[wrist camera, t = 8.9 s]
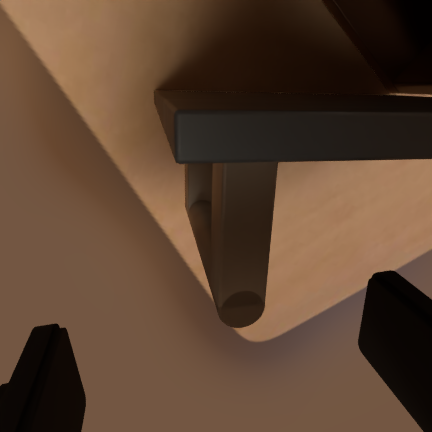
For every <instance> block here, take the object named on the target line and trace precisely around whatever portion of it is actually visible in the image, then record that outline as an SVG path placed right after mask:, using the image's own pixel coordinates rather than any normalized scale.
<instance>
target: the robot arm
mask: <svg viewBox="0 0 432 432" xmlns="http://www.w3.org/2000/svg"><path fill="white" fill-rule="evenodd" d="M358 345H359V349H360V351H361V352H362V354H363V355H364V356H365V358H366V359H367V360H368V362H369V363H370V364H371V365H372V367H373V368H374V369H375V370H376V372H377V373H378V374H379V376H380V377H381V378H382V379H383V381H384V382H385V383H386V384H387V386H388V387H389V388H390V389H391V391H392V392H393V393H394V395H395V396H396V397H397V398H398V400H399V401H400V402H401V403H402V405H403V406H404V407H405V408H406V410H407V411H408V412H409V414H410V415H411V416H412V417H413V419H414V420H415V421H416V422H417V424H418V425H419V426H420V427H421V429H422V430H423V431H424V432H432V300H431V299H430V298H429V297H428V296H426V295H425V294H424V293H422V292H421V291H420V290H418V289H417V288H416V287H415V286H413V285H412V284H411V283H409V282H408V281H407V280H406V279H404V278H403V277H402V276H400V275H399V274H398V273H397V272H395V271H391V270H390V271H384V272H378V273H374V274H373V276H372V278H371V279H369V281H368V286H367V292H366V298H365V303H364V310H363V315H362V322H361V327H360V333H359V339H358ZM85 407H86V398H85V392H84V389H83V385H82V382H81V378H80V375H79V371H78V368H77V364H76V361H75V357H74V353H73V350H72V346H71V343H70V339H69V336H68V332H67V329H66V328H60V327H59V325H58V324H50V325H44V326H37V327H34V328H33V330H32V332H31V334H30V337H29V338H28V341H27V343H26V345H25V347H24V350H23V352H22V354H21V356H20V359H19V361H18V363H17V365H16V368H15V370H14V372H13V374H12V377H11V379H10V381H9V383H6V384H2V385H1V386H0V432H81V430H82V424H83V419H84V413H85Z"/></svg>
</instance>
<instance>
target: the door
mask: <svg viewBox="0 0 432 432" xmlns="http://www.w3.org/2000/svg"><path fill="white" fill-rule="evenodd" d="M154 102H155V106H156V109H157V111H158V114H159V117H160V120H161V123H162V125H163V128H164V131H165V134H166V136H167V139H168V142H169V145H170V148H171V150H172V153H173V156H174V159H175V161H176V163H179V164H185V207H186V211H187V214H188V217H189V221H190V224H191V227H192V230H193V234H194V237H195V240H196V243H197V247H198V250H199V253H200V256H201V260H202V263H203V266H204V269H205V273H206V276H207V279H208V283H209V286H210V289H211V292H212V296H213V299H214V302H215V305H216V309H217V312H218V315H219V317H220V319H221V320H222V322H224V323H225V324H226V325H228V326H230V327H234V328H242V327H246V326H249V325H251V324H253V323H254V322H256V321H257V320H258V319H259V318H260V317H261V315H262V313H263V311H264V307H265V295H266V284H267V274H268V263H269V252H270V242H271V231H272V220H273V210H274V199H275V188H276V178H277V167H278V162H303V161H353V160H403V159H432V97H418V96H397V95H365V94H318V93H271V92H224V91H177V90H154Z"/></svg>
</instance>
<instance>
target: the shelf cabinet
mask: <svg viewBox="0 0 432 432" xmlns="http://www.w3.org/2000/svg"><path fill="white" fill-rule="evenodd" d="M322 1H323V3H324V4H325V5H326V7H327V8H328V9H329V11H330V12H331V14H332V15H333V16H334V18H335V19H336V20H337V22H338V23H339V24H340V26H341V27H342V29H343V30H344V31H345V33H346V34H347V35H348V37H349V38H350V40H351V41H352V42H353V44H354V45H355V46H356V48H357V49H358V51H359V52H360V53H361V55H362V56H363V57H364V59H365V60H366V62H367V63H368V64H369V66H370V67H371V68H372V70H373V71H374V72H375V74H376V75H377V77H378V78H379V79H380V81H381V82H382V83H383V85H384V86H385V88H386V89H387V90H388V92H389V93H405V94H431V95H432V0H322Z"/></svg>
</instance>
